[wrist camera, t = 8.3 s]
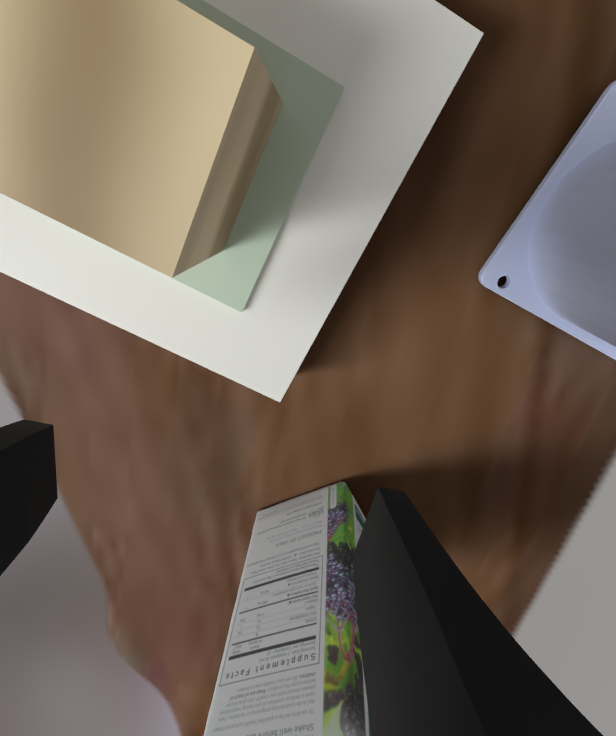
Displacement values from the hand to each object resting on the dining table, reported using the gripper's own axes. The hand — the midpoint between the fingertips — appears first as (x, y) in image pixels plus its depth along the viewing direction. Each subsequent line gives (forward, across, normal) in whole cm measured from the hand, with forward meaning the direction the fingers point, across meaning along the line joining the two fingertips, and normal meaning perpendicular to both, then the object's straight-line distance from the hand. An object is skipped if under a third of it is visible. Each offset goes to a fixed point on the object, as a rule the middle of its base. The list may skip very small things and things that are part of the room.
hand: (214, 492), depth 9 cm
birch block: (+8, +4, -7) cm, 11 cm away
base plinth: (+10, +4, -7) cm, 13 cm away
